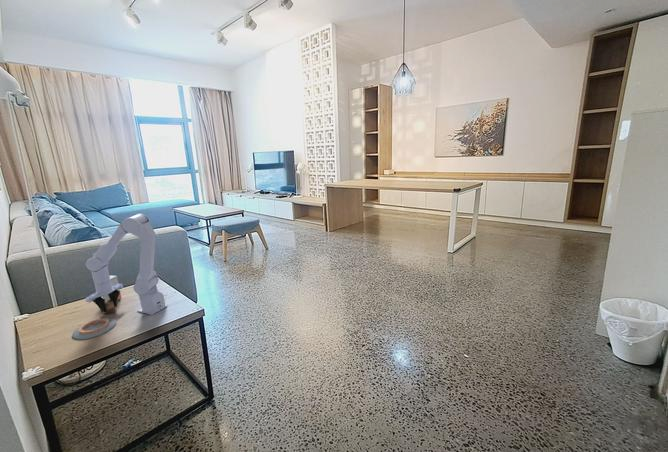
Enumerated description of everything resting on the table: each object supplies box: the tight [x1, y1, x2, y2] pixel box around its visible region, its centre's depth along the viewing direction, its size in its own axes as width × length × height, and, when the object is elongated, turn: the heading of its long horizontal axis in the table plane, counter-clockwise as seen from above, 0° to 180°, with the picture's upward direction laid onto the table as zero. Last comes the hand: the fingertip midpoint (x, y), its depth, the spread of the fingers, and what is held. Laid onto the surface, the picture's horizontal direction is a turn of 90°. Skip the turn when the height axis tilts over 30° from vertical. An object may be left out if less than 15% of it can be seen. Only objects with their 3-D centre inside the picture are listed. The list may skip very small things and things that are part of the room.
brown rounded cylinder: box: [103, 300, 116, 315], centre depth 130 cm, size 4×4×5 cm
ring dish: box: [71, 317, 117, 341], centre depth 118 cm, size 14×14×2 cm
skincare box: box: [102, 274, 122, 301], centre depth 140 cm, size 6×4×12 cm
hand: (109, 309), depth 131 cm, fingers closed on brown rounded cylinder, 4 cm apart
